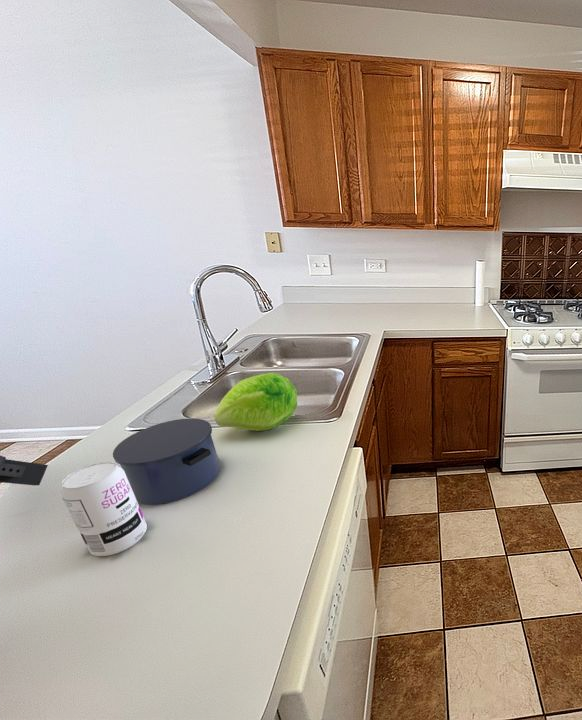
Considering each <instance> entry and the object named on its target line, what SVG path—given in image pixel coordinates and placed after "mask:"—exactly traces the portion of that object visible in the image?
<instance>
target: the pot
mask: <svg viewBox="0 0 582 720" xmlns="http://www.w3.org/2000/svg"><path fill="white" fill-rule="evenodd" d="M212 432H213V428H212V425H211V423H210V422H209V421H208V420H205V419H203V418H195V417H193V418H192V417H191V418H179V419H174V420H168V421H165V422H160V423H157V424H154V425H151V426H148V427H146V428H143V429H140V430H139V431H137V432H134V433H133V434H130V435H129V436H127V437H126V438H124V439H123V440H122V441H120V442H119V443H118V444H117V445H116V446H115V448H114V449H113V451H112V458H113V460H114V463H116V464H118V465H119V466H120V467H121V468H122V469H123V470H124V472H125V474H126V476H127V479H128V481H129V484H130V486H131V488H132V491H133V493H134V495H135V498H136V500H137V503H139V504H142V505H148V506H150V505H151V506H152V505H153V506H156V505H164V504H168V503H174V502H175V501H176V502H177V501H179V500H182V499H185V498H188V497H190V496H192V495H194V494H196V493H198V492H199V491H201V490H203V489H204V488H206V487H207V486H209V485H210V484H211V483H213V481H214V480H215V479H217V477H218V476H219V474H220V472H221V469H222V467H221V462H220V460H219V455H218V453H217V450H216V446H215V443H214V439H213V437H212Z"/></svg>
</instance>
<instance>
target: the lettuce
mask: <svg viewBox="0 0 582 720" xmlns="http://www.w3.org/2000/svg"><path fill="white" fill-rule="evenodd" d="M297 407H298V390H297V389H296V387H295V386H294V385H293V383H292V382H291V381H290V379H289V378H287V377H285V376H283V375H282V374H280V373H278V372H263V373H259V374H256V375H252V376H248V377H246V378H243V379H241V380H239V381H238V382H236V384H234V385H233V386H232V387H231V389H229V390H228V391H227V392H226V394H225V395H224V396H223V397H222V399H221V400H220V402H219V403H218V405H217V406H216V408H215V410H214V413H213V418H214V421H215V424H216V425H217V426H219V427H229V428H234V429H239V430H246V431H257V432H261V431H269V430H272V429H274V428H276V427H278V426H280V425H282V424H285V422H286V421H288V420H289V419H290V418H291V417H292V416H293V415H294V413H295V411H296V409H297Z"/></svg>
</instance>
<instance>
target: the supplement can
mask: <svg viewBox="0 0 582 720" xmlns="http://www.w3.org/2000/svg"><path fill="white" fill-rule="evenodd" d="M60 485H61V487H60V490H59V495H60V497H61V499H62V500H63V502H64V505H65V507H66V508H67V510H68V512H69V514H70V516H71V519H72V521H73V523H74V524H75V526H76V528H77V530H78V532H79V534H80V536H81V538H82V540H83V542H84V544H85V545H86V547H87V549H88V551H89V553H90V555H93V556H96V557H107V556H108V557H109V556H112V555H116V554H119V553H121V552H124V551H126V550H128V549H129V548H131V547H132V546H134V545H135V544H137V543H138V542H139V541H140V540H141V539H142V537H143V536H144V535H145V533H146V531H147V528H148V524H147V522H146V519H145V517H144V514H143V511H142V510H141V507H140V505H139V502H138V501H137V500H136V498H135V495H134V493H133V491H132V488H131V486H130V484H129V481H128V479H127V476H126V474H125V472H124V470H123V469H122V468H121V466H120V465H117V463H116V462H112V461H101V462H95V463H91V464H89V465H86V466H83V467H80V468H79V469H76V470H74V471H73V472H70V473H69V474H68V475H67V476H66V477H64V478H63V479H62V481H61V483H60Z"/></svg>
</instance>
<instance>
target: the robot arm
mask: <svg viewBox="0 0 582 720" xmlns="http://www.w3.org/2000/svg"><path fill="white" fill-rule="evenodd" d="M48 466H49V465H48V464H45V463H43V464H42V463H35V462H28V461H23V460H22V461H21V460H14V459H9V458H8V459H7V456H3V455H0V483H3V484H14V485H24V486H25V485H26V486H40V484H41V483H42V480H43V477H44V475H45V473H46V471H47V468H48Z"/></svg>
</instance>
